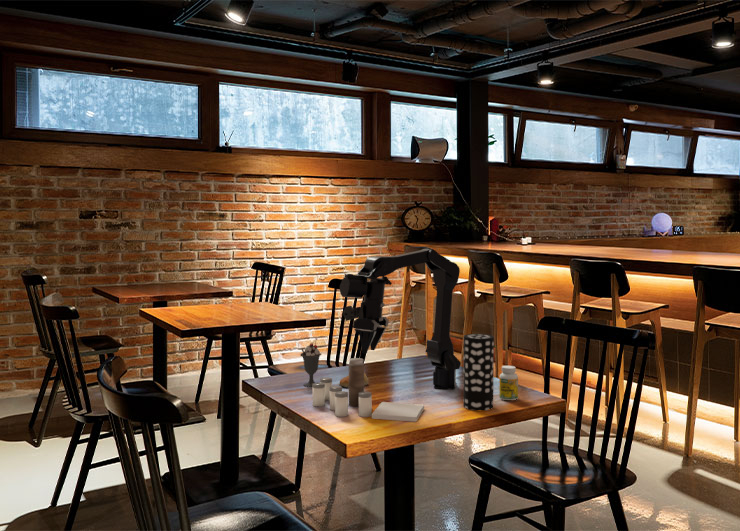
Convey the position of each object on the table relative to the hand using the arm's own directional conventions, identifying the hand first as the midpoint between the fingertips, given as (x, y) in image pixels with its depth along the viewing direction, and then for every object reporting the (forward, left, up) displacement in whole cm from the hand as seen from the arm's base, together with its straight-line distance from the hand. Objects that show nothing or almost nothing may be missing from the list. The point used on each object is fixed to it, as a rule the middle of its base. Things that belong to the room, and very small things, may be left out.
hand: (368, 351), depth 191 cm
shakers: (+6, +12, -14) cm, 19 cm away
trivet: (-12, +12, -14) cm, 22 cm away
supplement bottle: (-40, -9, -14) cm, 44 cm away
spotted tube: (-32, +1, -14) cm, 35 cm away
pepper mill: (+2, +7, -14) cm, 16 cm away
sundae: (+22, -11, -14) cm, 29 cm away
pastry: (+9, -15, -15) cm, 23 cm away
